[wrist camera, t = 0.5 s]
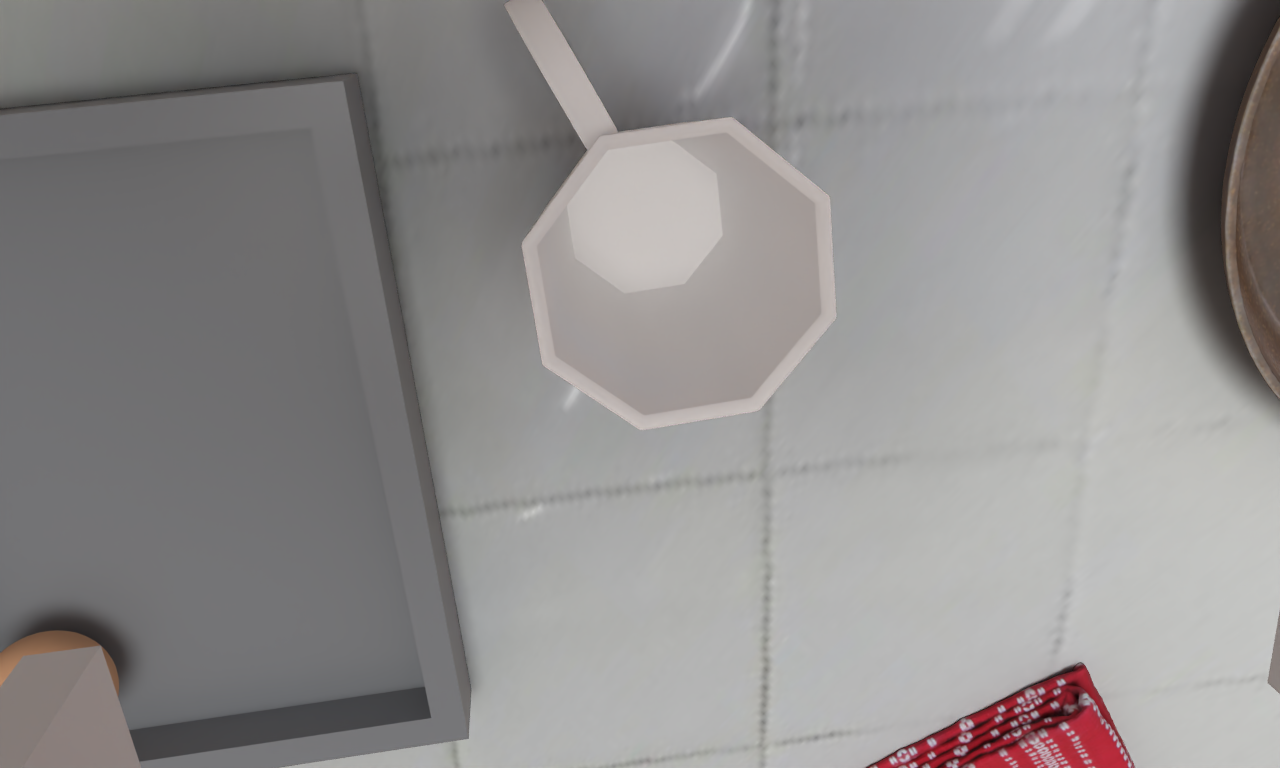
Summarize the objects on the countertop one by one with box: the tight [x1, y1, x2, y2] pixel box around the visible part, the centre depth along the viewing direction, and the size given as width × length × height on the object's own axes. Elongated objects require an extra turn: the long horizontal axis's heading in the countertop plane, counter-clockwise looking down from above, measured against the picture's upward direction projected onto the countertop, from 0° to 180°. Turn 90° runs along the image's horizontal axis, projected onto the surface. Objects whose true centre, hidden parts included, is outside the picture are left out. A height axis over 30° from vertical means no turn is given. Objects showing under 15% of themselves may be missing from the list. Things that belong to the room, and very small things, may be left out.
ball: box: [0, 630, 119, 696], centre depth 29 cm, size 4×4×4 cm
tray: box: [0, 73, 471, 768], centre depth 29 cm, size 20×15×2 cm
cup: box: [504, 0, 837, 430], centre depth 24 cm, size 7×10×8 cm
